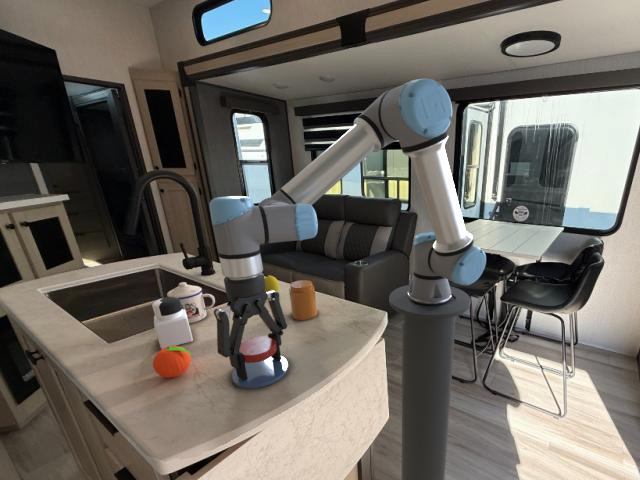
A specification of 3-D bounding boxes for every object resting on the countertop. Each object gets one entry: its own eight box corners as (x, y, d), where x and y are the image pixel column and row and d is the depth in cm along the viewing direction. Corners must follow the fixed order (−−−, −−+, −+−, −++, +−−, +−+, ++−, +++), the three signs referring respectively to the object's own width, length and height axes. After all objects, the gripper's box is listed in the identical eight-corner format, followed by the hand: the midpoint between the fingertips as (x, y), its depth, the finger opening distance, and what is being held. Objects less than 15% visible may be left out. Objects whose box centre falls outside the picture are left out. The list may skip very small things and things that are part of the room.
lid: (229, 355, 71) (228, 348, 70) (262, 339, 77) (261, 332, 76) (251, 367, 66) (250, 359, 66) (284, 349, 73) (283, 342, 72)
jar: (322, 313, 103) (319, 282, 99) (303, 322, 97) (299, 289, 93) (306, 307, 107) (302, 278, 103) (287, 316, 101) (283, 284, 97)
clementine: (203, 364, 76) (197, 338, 74) (190, 382, 70) (182, 354, 67) (167, 366, 75) (159, 340, 73) (150, 385, 69) (141, 357, 66)
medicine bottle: (190, 331, 91) (180, 292, 87) (193, 341, 86) (182, 300, 82) (160, 338, 87) (148, 298, 83) (161, 349, 82) (148, 307, 78)
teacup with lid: (169, 326, 94) (159, 290, 90) (178, 314, 102) (169, 280, 98) (215, 320, 98) (207, 285, 94) (220, 308, 106) (213, 275, 102)
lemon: (260, 297, 114) (257, 277, 112) (271, 292, 119) (268, 272, 116) (273, 299, 113) (270, 278, 110) (283, 294, 118) (280, 273, 115)
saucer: (299, 367, 75) (299, 364, 75) (253, 396, 66) (252, 392, 65) (267, 351, 81) (267, 349, 81) (221, 376, 72) (221, 373, 72)
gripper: (275, 259, 75) (287, 343, 83) (179, 285, 59) (205, 386, 67) (296, 265, 71) (306, 352, 79) (200, 294, 55) (225, 400, 63)
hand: (260, 367), depth 73 cm, fingers closed on lid, 8 cm apart
